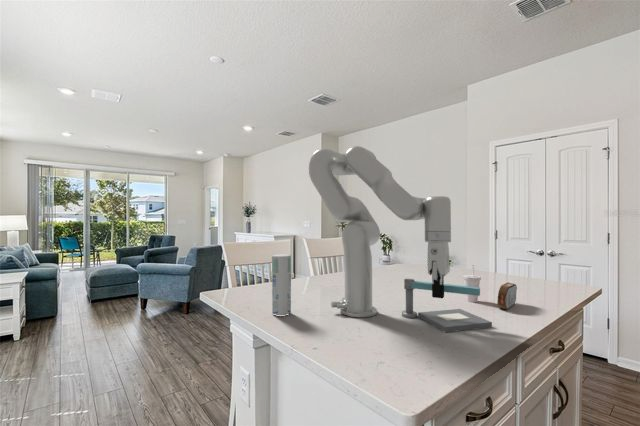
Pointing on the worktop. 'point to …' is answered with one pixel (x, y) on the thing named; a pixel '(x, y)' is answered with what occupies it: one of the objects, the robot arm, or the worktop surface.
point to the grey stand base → (446, 317)
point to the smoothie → (472, 284)
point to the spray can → (281, 284)
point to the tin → (507, 295)
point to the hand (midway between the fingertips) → (438, 297)
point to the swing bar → (468, 290)
